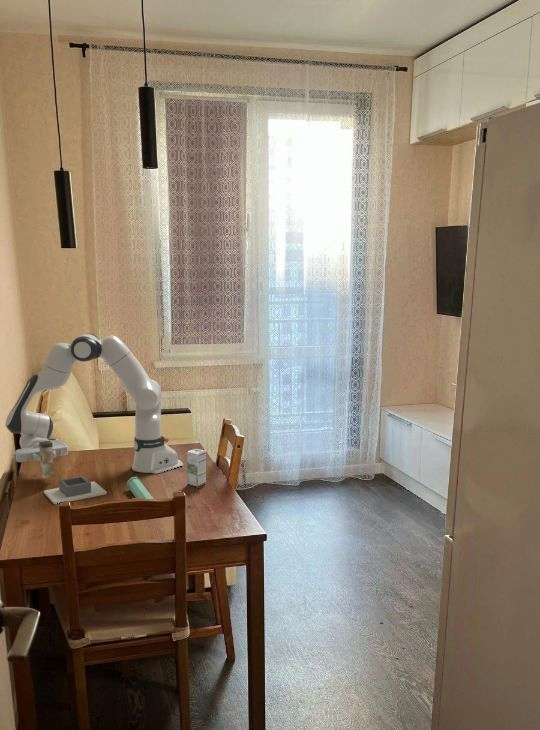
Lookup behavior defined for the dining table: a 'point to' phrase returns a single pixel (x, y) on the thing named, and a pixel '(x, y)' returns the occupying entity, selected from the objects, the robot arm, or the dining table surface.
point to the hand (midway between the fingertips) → (47, 457)
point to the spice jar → (46, 459)
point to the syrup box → (196, 467)
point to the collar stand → (74, 490)
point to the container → (138, 488)
